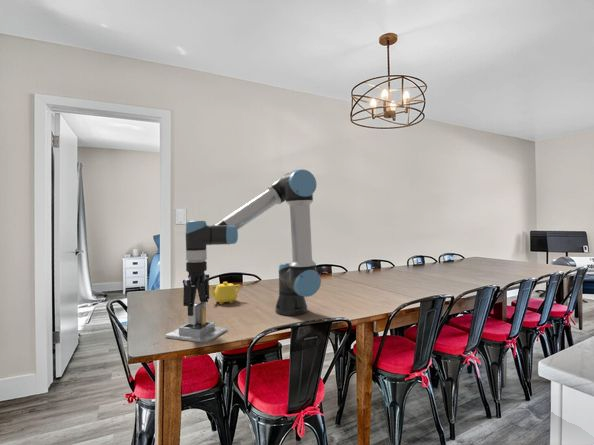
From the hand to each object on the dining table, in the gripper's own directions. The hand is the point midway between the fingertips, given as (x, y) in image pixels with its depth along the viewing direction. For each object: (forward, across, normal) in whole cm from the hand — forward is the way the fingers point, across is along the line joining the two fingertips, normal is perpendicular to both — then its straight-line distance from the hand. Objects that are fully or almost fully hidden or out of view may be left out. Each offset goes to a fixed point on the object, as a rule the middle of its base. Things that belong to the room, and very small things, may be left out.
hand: (197, 321), depth 126 cm
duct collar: (+5, 0, 0) cm, 5 cm away
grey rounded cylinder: (+3, 0, 0) cm, 3 cm away
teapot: (+5, -46, -16) cm, 49 cm away
